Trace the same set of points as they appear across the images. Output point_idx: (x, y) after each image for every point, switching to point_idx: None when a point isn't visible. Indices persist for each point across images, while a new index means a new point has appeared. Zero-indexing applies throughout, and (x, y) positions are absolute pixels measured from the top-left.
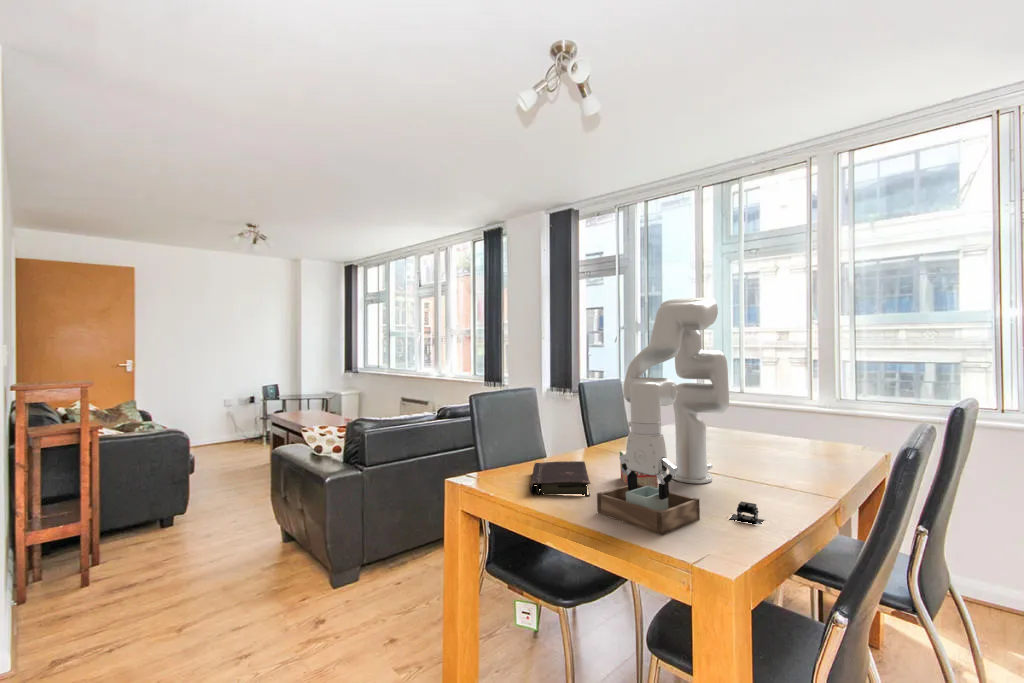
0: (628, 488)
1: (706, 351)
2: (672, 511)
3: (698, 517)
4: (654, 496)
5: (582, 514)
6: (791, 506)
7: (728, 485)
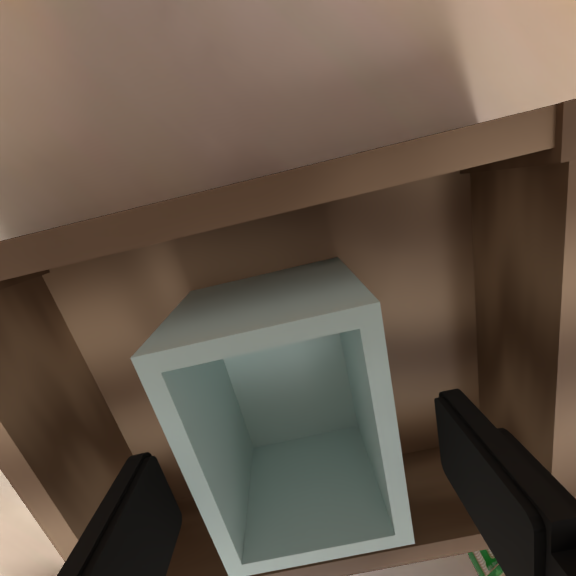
0: (459, 396)
1: None
2: None
3: None
4: (174, 445)
5: (525, 5)
6: None
7: None
